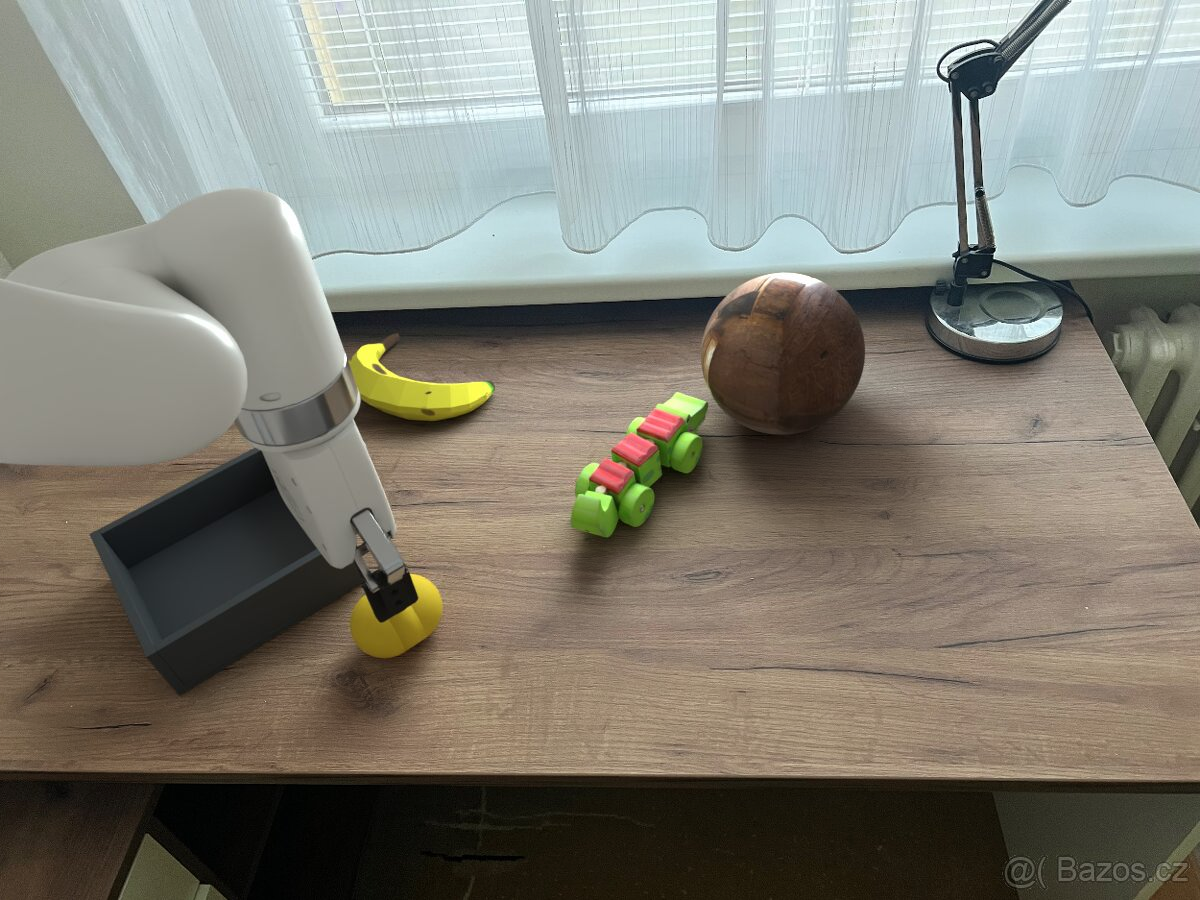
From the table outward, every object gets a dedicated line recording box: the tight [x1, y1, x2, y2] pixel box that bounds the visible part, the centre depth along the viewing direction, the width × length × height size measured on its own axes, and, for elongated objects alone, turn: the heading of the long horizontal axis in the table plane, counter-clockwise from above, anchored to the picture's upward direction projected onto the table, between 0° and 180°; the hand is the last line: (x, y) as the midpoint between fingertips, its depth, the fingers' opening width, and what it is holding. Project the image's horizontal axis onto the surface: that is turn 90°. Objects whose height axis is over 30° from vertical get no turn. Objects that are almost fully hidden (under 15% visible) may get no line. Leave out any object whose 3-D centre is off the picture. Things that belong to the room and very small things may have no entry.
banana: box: [348, 332, 496, 422], centre depth 95 cm, size 5×17×15 cm
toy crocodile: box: [570, 391, 709, 538], centre depth 80 cm, size 20×7×6 cm, turn 142°
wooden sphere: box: [700, 272, 866, 436], centre depth 82 cm, size 15×15×15 cm
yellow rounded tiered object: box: [349, 573, 443, 659], centre depth 71 cm, size 8×6×6 cm
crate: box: [89, 447, 365, 697], centre depth 77 cm, size 18×17×6 cm
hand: (367, 569), depth 65 cm, fingers open, 9 cm apart
